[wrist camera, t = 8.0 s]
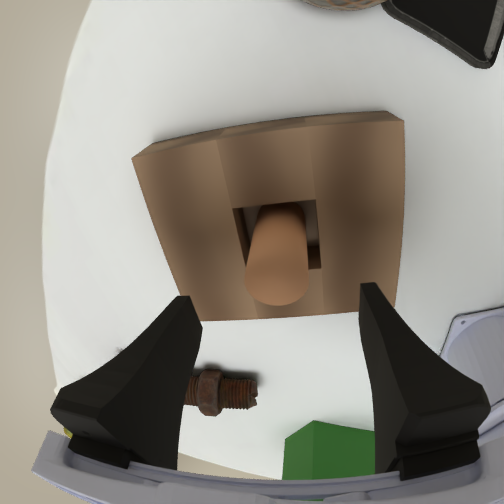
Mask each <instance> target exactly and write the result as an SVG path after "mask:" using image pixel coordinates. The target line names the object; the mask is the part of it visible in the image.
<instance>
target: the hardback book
mask: <svg viewBox="0 0 504 504" xmlns="http://www.w3.org/2000/svg"><path fill="white" fill-rule="evenodd" d="M374 474H375V431H369V430H362V429H356V428H350V427H345V426H339V425H334V424H329V423H324V422H319V421H314V420H313V421H312V422H310V423H309V424H307V425H306V426H304V427H303V428H301V429H300V430H298V431H297V432H295V433H294V434H292V435H291V436H289V437H288V438H286V439H285V449H284V462H283V475H282V480H317V479H335V478H347V477H357V476H366V475H374ZM323 500H324V499H313V500H299V501H323Z"/></svg>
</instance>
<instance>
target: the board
mask: <svg viewBox="0 0 504 504" xmlns="http://www.w3.org/2000/svg"><path fill="white" fill-rule="evenodd" d="M131 159H132V162H133V165H134V168H135V172H136V175H137V178H138V181H139V184H140V187H141V190H142V193H143V196H144V199H145V202H146V205H147V208H148V211H149V213H150V216H151V219H152V222H153V225H154V228H155V230H156V233H157V236H158V239H159V241H160V244H161V247H162V249H163V252H164V255H165V257H166V260H167V262H168V265H169V268H170V270H171V273H172V275H173V278H174V280H175V283H176V285H177V288H178V290H179V293H180V295H181V296H187V295H190V297H191V300H192V303H193V305H194V308H195V310H196V313H197V315H198V318H199V320H200V321H227V320H251V319H269V318H286V317H300V316H313V315H326V314H337V313H348V312H358V311H359V301H360V283H369V282H375V283H377V285H378V286H379V288H380V289H381V291H382V292H383V294H384V295H385V297H386V298H387V300H388V301H389V302H390V304H391V305H392V306H393V308H394V306H395V299H396V292H397V284H398V276H399V267H400V258H401V247H402V234H403V218H404V195H405V137H404V121H403V120H401V119H400V118H398V117H396V116H395V115H393V114H391V113H389V112H388V111H373V112H353V113H338V114H326V115H315V116H305V117H296V118H287V119H279V120H272V121H264V122H258V123H251V124H245V125H239V126H233V127H227V128H221V129H216V130H211V131H206V132H201V133H196V134H191V135H186V136H182V137H177V138H173V139H169V140H164V141H160V142H156V143H152V144H151V145H149V146H148V147H147V148H145V149H144V150H142V151H141V152H139V153H138V154H137V155H135V156H134V157H133V158H131ZM284 202H295V203H296V204H298V205H299V206H300V207H301V209H302V210H303V212H304V215H305V224H306V239H307V255H308V273H309V285H308V289H307V291H306V292H305V294H304V295H303V296H302V297H301V298H300V299H299V300H297V301H295V302H293V303H291V304H287V305H282V306H274V305H268V304H265V303H262V302H260V301H258V300H256V299H255V298H254V297H252V296H251V295H250V293H249V292H248V291H247V289H246V287H245V283H244V276H245V271H246V266H247V261H248V256H249V252H250V247H251V242H252V237H253V232H254V228H255V223H256V218H257V214H258V211H259V209H260V208H261V206H262V205H266V204H275V203H284Z"/></svg>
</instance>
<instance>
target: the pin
mask: <svg viewBox="0 0 504 504" xmlns="http://www.w3.org/2000/svg"><path fill="white" fill-rule="evenodd" d="M244 283H245V287H246V289H247V291H248V292H249V293H250V295H251V296H252V297H254V298H255V299H256V300H258V301H260V302H262V303H265V304H268V305H274V306H282V305H287V304H291V303H293V302H295V301H297V300H299V299H300V298H301V297H302V296H303V295H304V294H305V292H306V291H307V289H308V285H309V273H308V255H307V239H306V224H305V215H304V212H303V210H302V209H301V207H300V206H299V205H298V204H296V203H295V202H284V203H275V204H266V205H262V206H261V208H260V209H259V211H258V214H257V218H256V223H255V228H254V232H253V237H252V242H251V247H250V252H249V256H248V261H247V266H246V271H245V276H244Z"/></svg>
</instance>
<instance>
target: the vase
mask: <svg viewBox="0 0 504 504" xmlns="http://www.w3.org/2000/svg"><path fill="white" fill-rule="evenodd" d="M301 1H304V2H306V3H308V4H311V5H314V6H317V7H321V8H325V9H331V10H341V11H350V10H360V9H365V8H369V7H372V6H375V5H378V4H380V3H382V2H385V1H387V0H301Z"/></svg>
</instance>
